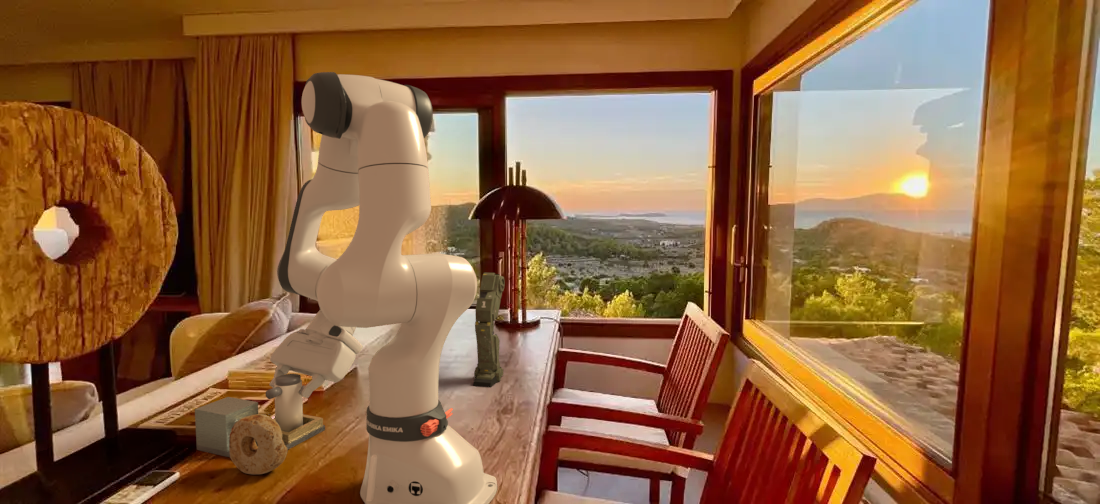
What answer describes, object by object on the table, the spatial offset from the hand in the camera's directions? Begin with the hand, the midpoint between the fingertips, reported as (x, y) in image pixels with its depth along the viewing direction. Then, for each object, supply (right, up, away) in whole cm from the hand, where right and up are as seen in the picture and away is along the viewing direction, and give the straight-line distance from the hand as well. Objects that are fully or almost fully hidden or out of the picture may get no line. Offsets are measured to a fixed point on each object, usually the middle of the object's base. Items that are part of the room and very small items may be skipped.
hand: (287, 391), depth 109 cm
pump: (0, -8, 0) cm, 8 cm away
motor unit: (-4, -9, -2) cm, 10 cm away
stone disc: (+2, -11, -14) cm, 18 cm away
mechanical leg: (+37, -6, +37) cm, 52 cm away
